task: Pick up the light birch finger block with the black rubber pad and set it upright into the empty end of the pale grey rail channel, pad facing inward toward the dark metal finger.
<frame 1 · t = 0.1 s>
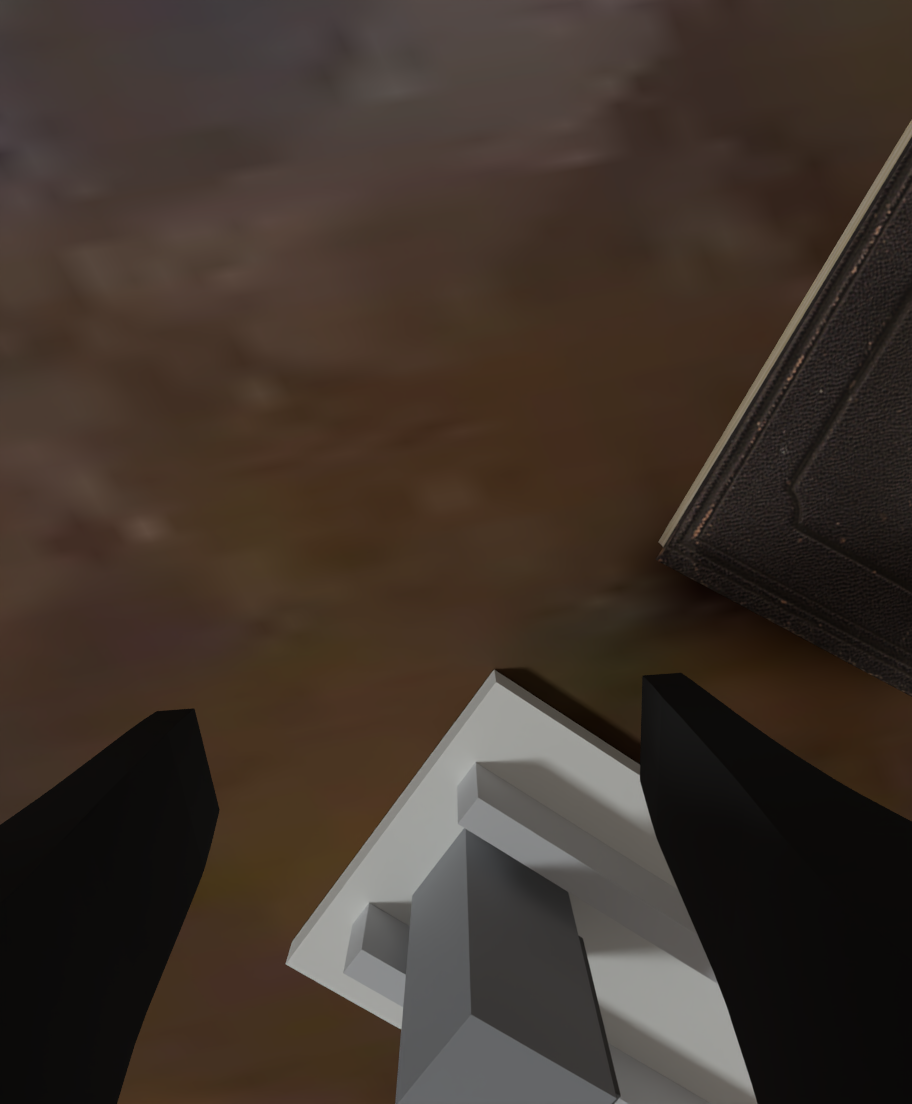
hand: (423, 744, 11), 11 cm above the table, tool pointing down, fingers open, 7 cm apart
rail: (653, 972, 25), on the table
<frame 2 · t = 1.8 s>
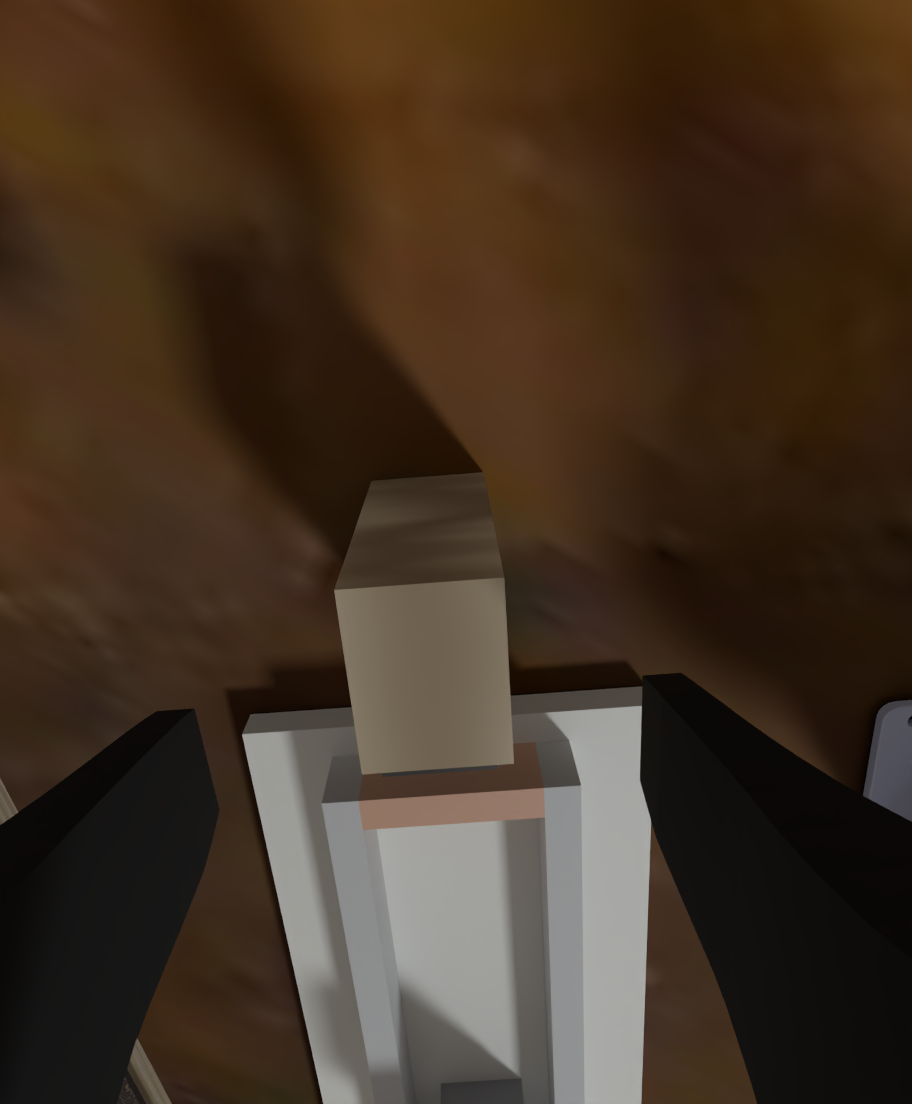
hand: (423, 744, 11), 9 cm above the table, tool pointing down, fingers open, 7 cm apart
finger block: (433, 546, 20), on the table
rail: (471, 960, 26), on the table
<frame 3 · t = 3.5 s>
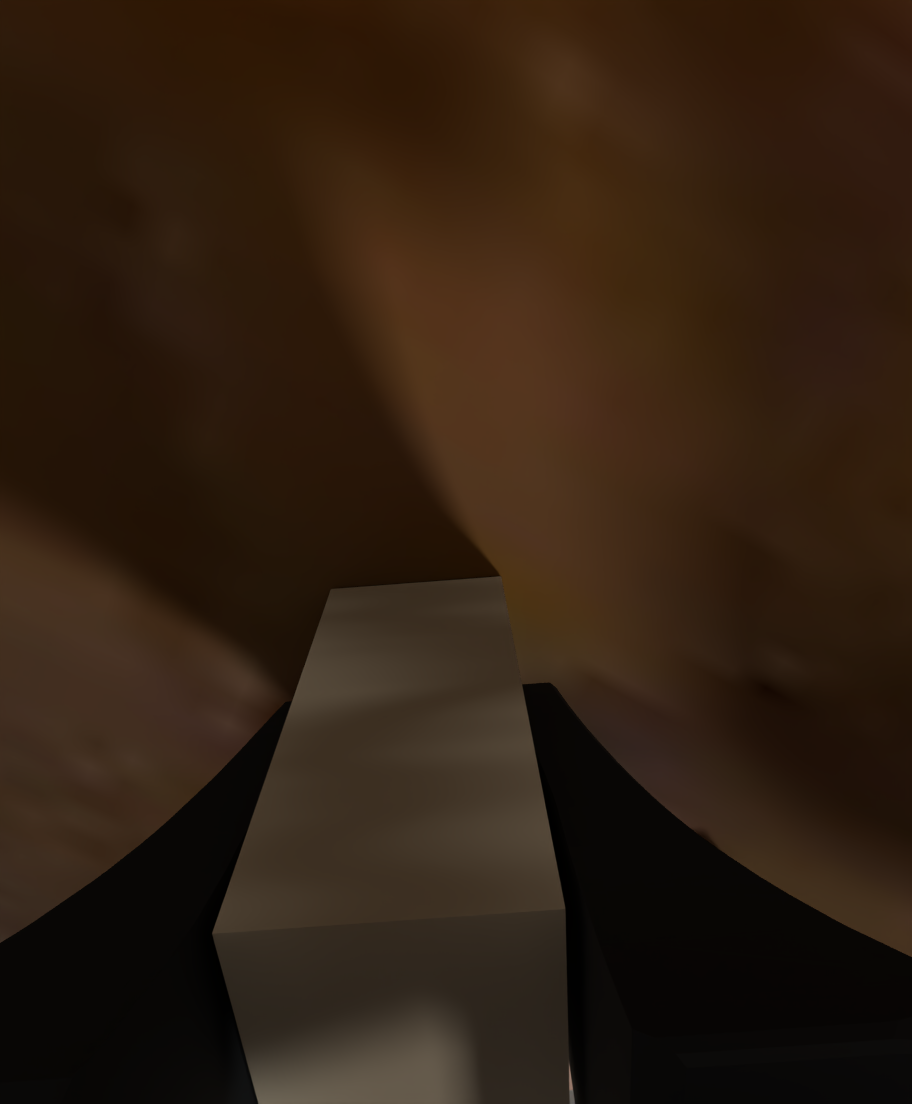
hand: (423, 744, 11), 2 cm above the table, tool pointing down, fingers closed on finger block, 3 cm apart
finger block: (425, 680, 13), on the table, touching gripper
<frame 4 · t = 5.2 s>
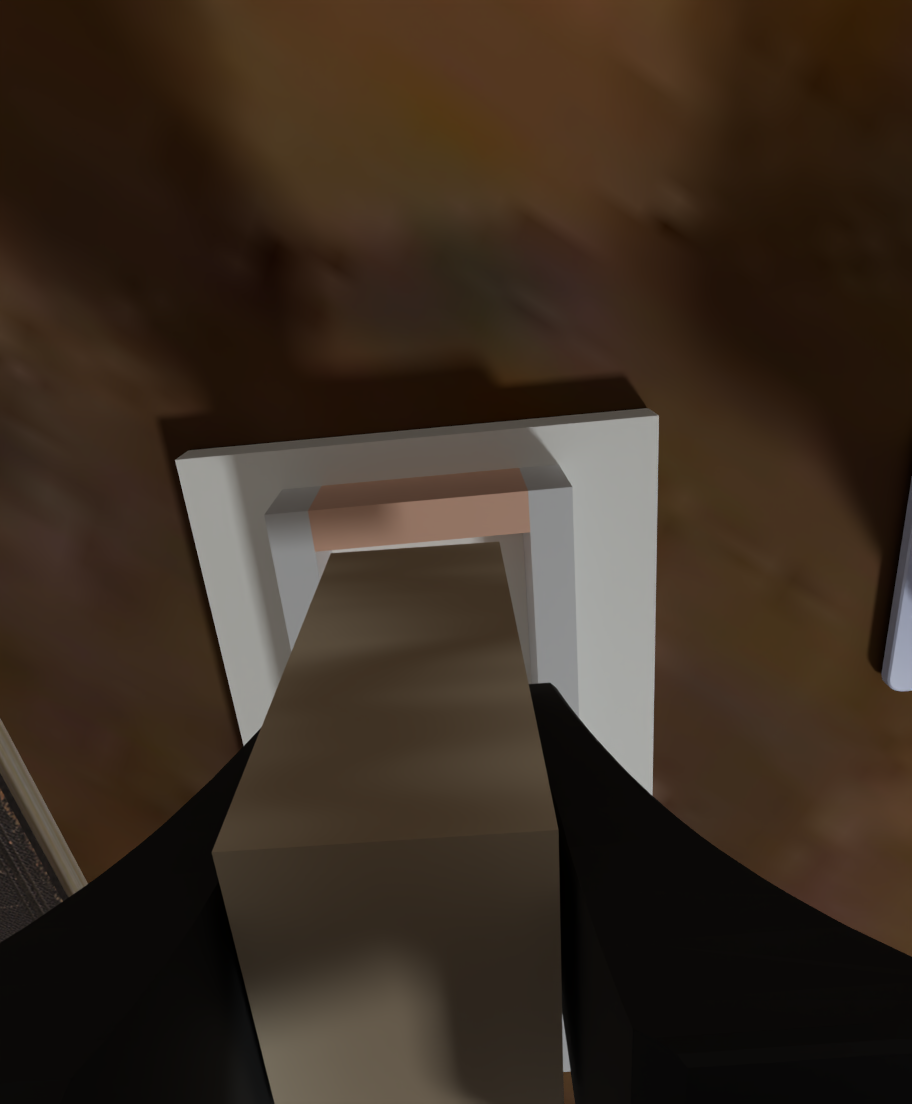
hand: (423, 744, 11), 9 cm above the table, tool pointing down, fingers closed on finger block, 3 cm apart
finger block: (424, 646, 13), point 7 cm above the table, touching gripper
rail: (454, 772, 23), on the table
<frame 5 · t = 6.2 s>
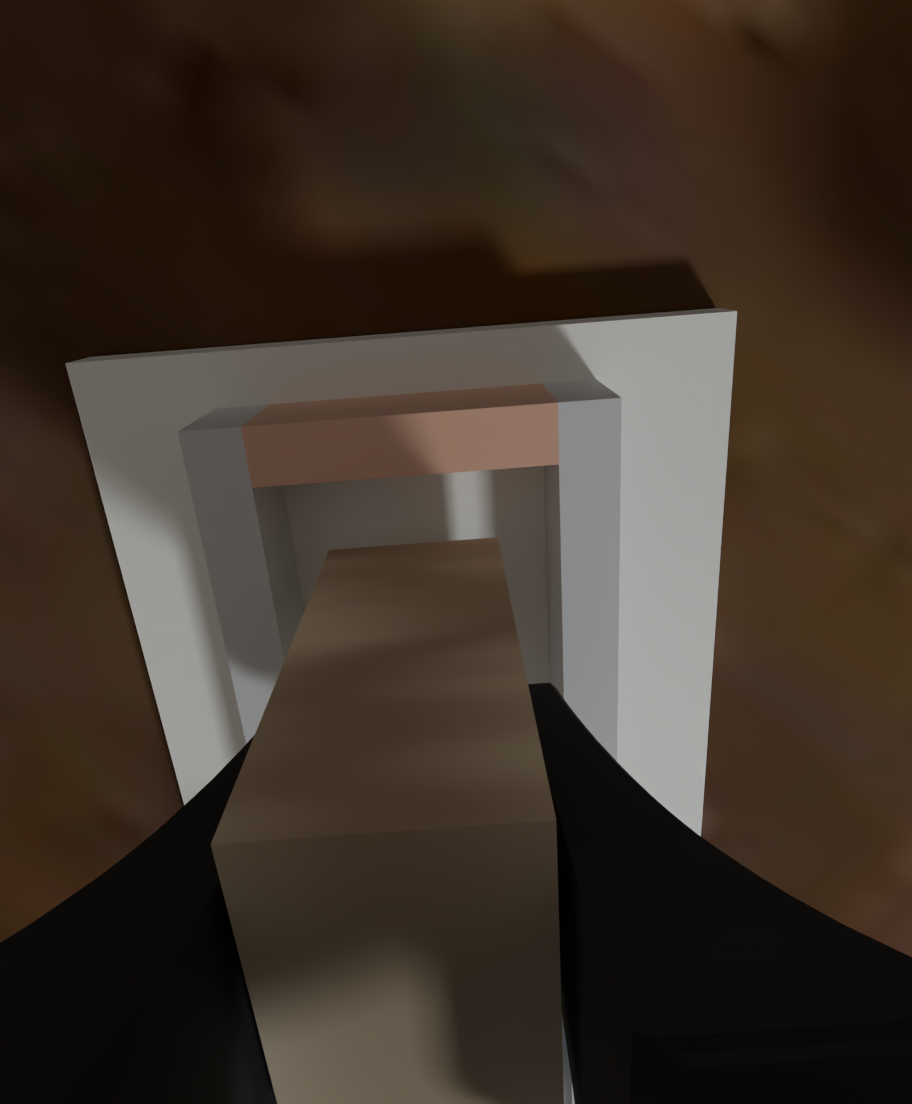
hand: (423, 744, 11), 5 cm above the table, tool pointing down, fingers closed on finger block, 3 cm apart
finger block: (423, 642, 13), point 2 cm above the table, touching gripper
rail: (447, 793, 18), on the table
when the fingers open (4 cm above the table, at t = 7.0 s): finger block drops 1 cm, resting on rail.
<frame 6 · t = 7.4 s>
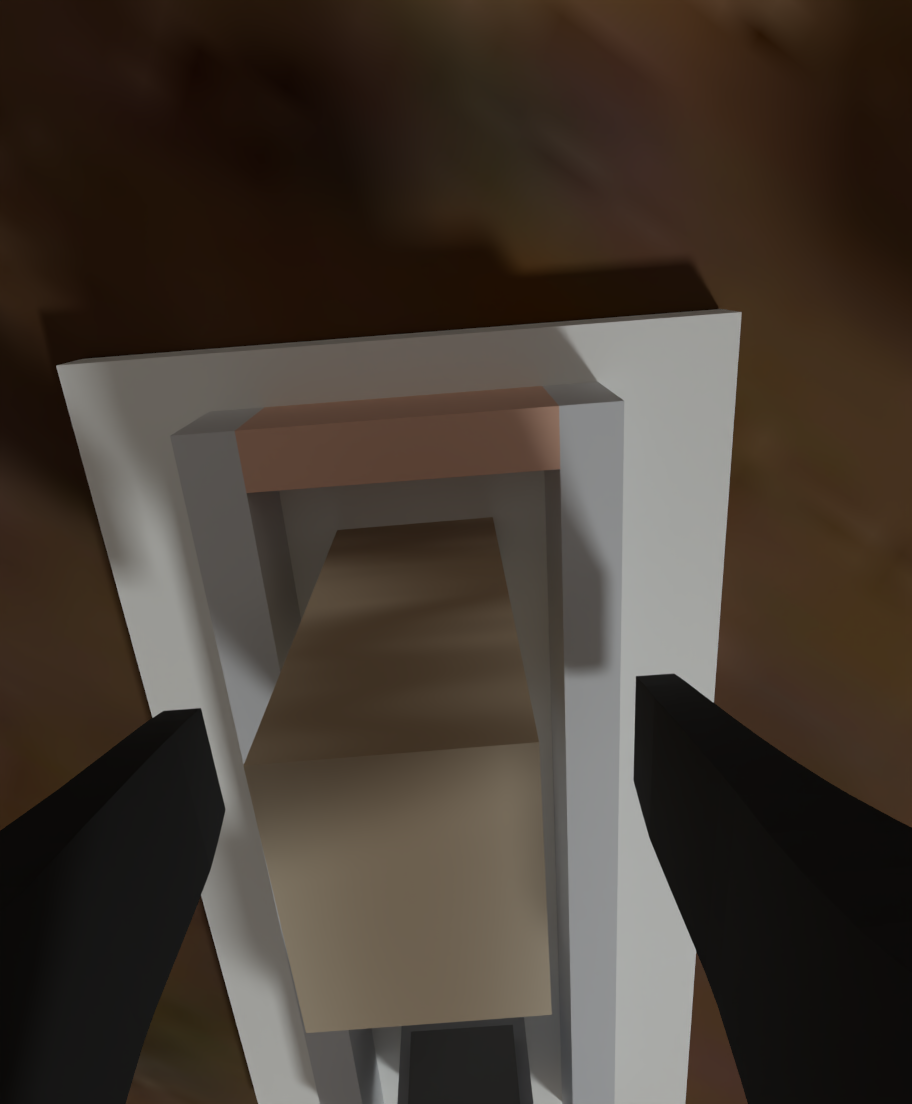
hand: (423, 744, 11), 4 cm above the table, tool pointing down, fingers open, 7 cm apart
finger block: (425, 616, 14), point 1 cm above the table, touching rail
rail: (446, 801, 17), on the table
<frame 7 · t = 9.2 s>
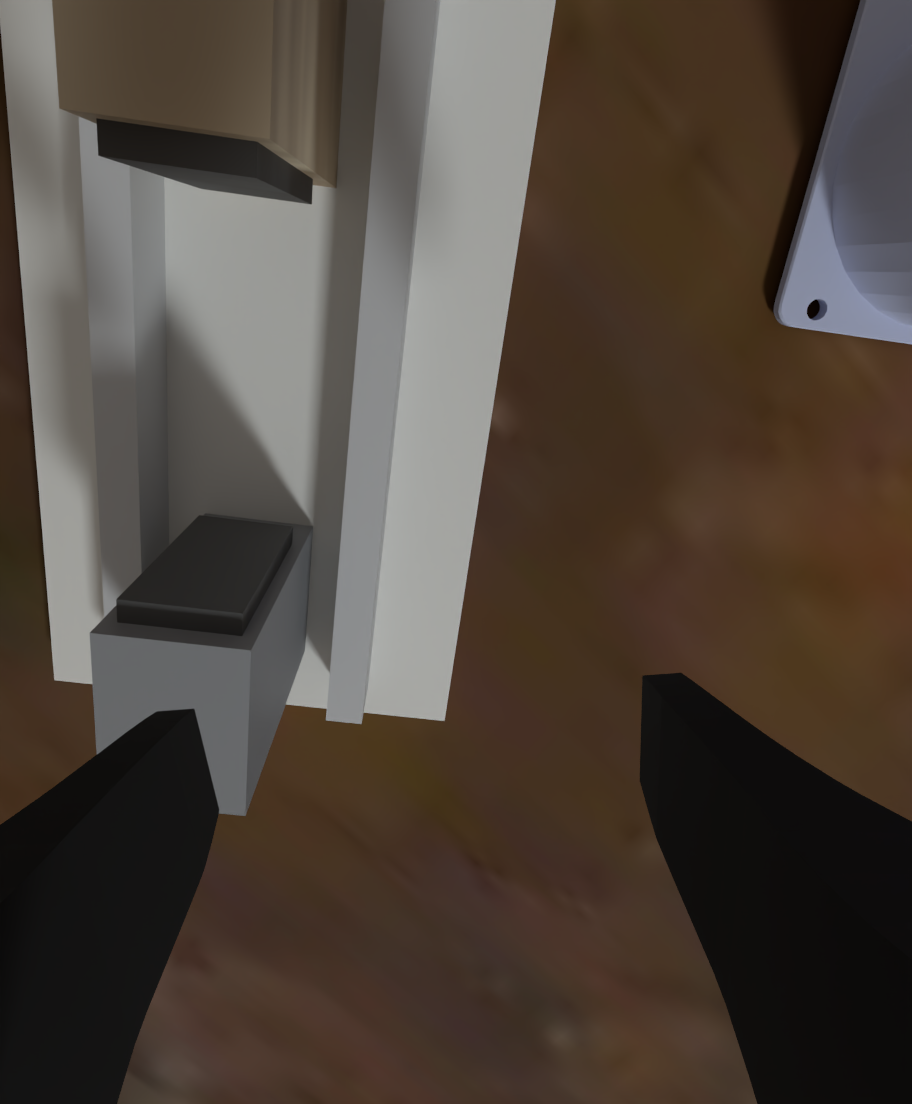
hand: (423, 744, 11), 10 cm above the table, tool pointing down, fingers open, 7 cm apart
finger block: (275, 80, 16), point 1 cm above the table, touching rail
rail: (274, 332, 19), on the table
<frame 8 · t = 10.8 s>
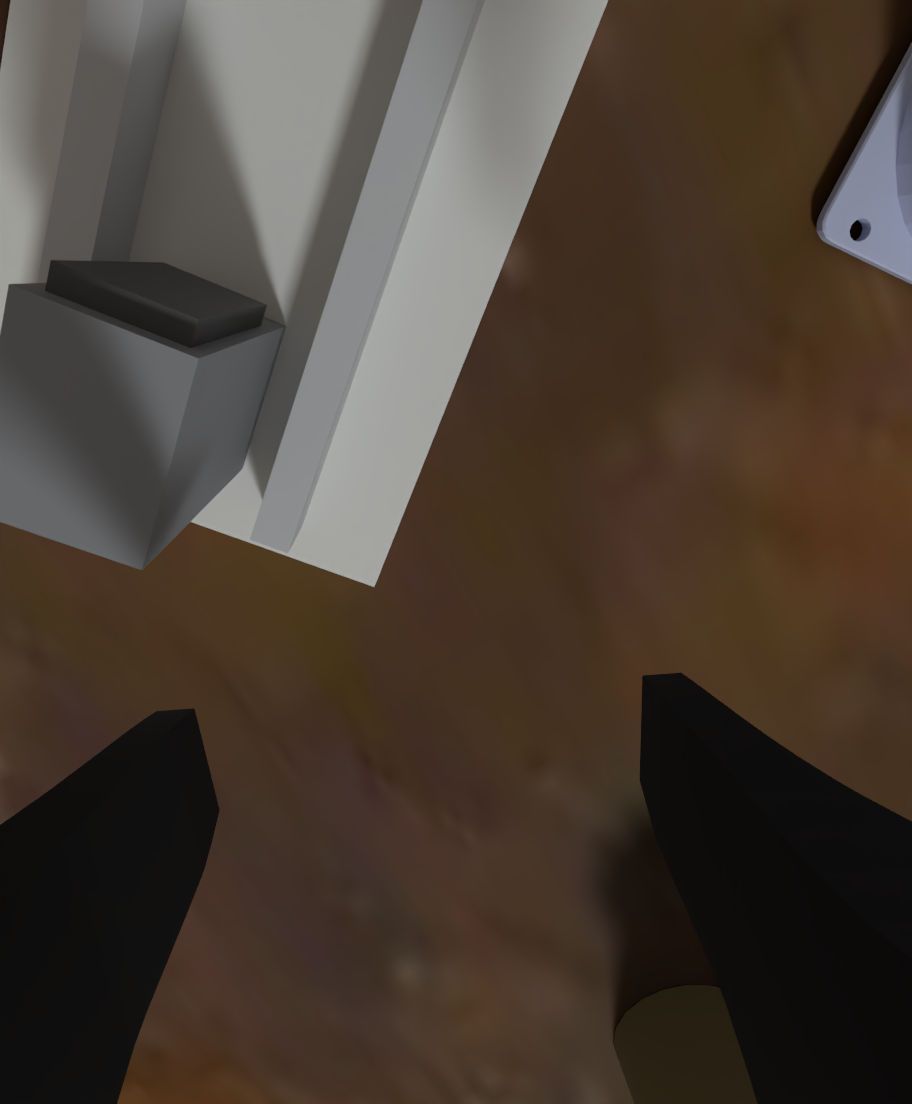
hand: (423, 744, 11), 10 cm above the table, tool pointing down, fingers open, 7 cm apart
cork: (684, 1030, 30), on the table
rail: (296, 95, 17), on the table
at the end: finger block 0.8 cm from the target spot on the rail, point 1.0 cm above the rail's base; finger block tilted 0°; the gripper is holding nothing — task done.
